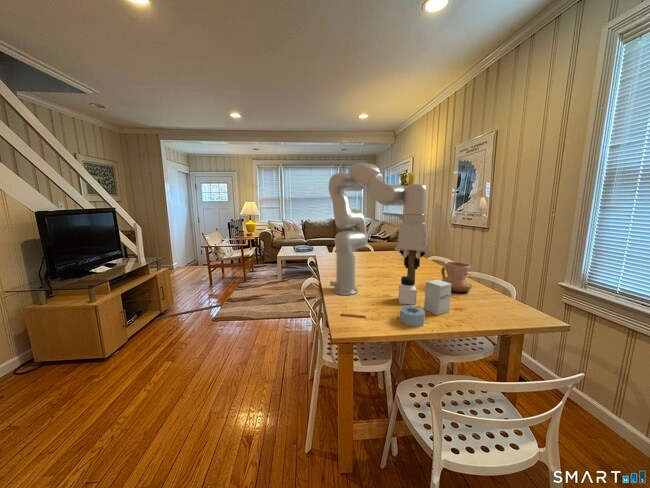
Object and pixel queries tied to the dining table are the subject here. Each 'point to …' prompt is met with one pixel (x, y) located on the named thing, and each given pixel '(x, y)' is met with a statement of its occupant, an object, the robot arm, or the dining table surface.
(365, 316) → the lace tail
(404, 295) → the medicine bottle
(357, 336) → the dining table surface
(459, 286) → the ceramic jug
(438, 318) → the dining table surface
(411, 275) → the needle
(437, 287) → the supplement box
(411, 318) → the bead
